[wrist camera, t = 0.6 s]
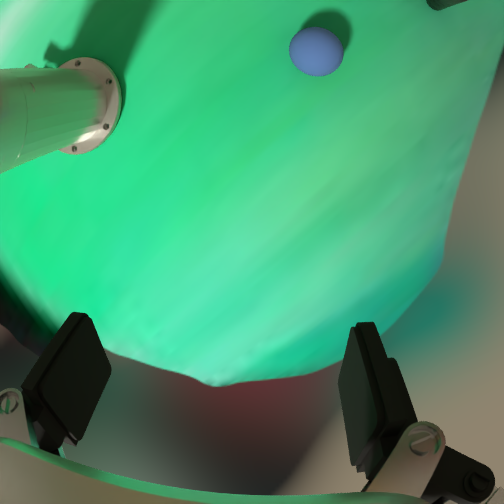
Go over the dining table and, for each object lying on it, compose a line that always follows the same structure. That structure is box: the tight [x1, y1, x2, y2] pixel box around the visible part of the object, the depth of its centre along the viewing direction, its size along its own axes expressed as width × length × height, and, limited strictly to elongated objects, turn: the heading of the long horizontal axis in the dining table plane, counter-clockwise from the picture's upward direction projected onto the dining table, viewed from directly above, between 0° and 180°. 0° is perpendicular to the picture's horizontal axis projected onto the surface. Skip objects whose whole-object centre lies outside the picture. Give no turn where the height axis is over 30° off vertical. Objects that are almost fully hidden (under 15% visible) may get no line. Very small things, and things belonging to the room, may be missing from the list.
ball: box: [289, 27, 343, 76], centre depth 26 cm, size 6×6×6 cm
